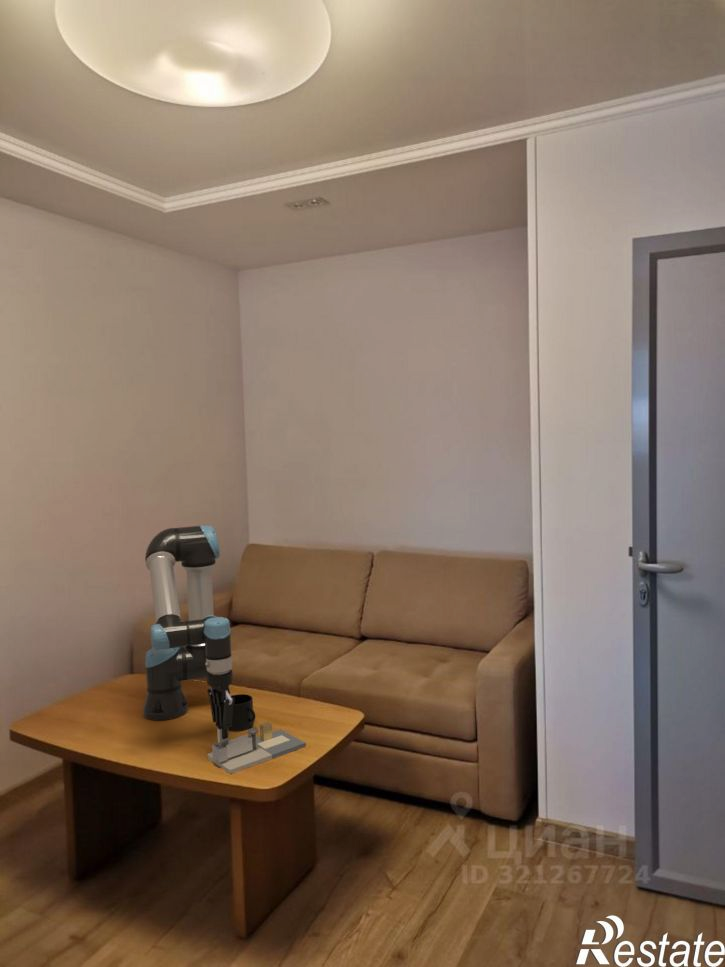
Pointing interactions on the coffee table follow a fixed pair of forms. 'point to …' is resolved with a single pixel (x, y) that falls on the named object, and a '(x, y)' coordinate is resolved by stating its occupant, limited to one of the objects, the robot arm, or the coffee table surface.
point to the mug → (242, 713)
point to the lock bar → (231, 748)
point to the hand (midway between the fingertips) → (223, 747)
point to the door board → (261, 751)
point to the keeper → (265, 731)
